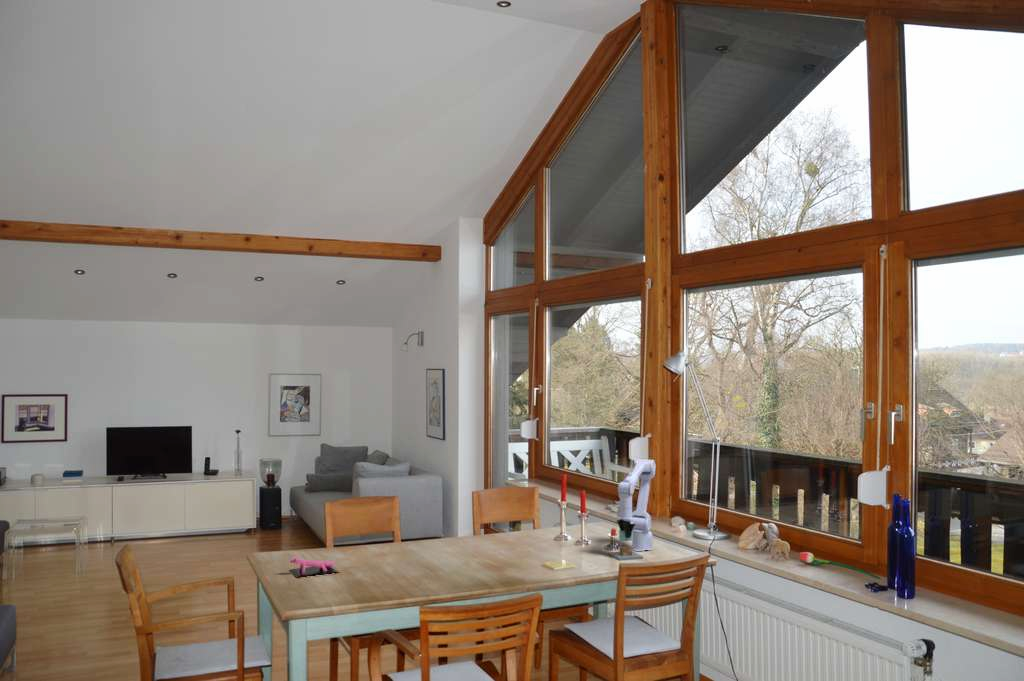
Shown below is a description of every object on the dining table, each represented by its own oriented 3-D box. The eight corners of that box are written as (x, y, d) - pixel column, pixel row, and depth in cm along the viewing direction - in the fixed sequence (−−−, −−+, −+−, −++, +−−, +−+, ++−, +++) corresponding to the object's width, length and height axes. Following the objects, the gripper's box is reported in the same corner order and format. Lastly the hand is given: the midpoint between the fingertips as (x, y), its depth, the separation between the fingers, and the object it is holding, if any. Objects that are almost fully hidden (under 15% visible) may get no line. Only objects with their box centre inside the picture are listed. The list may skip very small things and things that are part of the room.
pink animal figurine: (285, 572, 359) (286, 555, 359) (331, 567, 368) (331, 550, 368) (293, 580, 346) (293, 562, 346) (340, 575, 355) (340, 557, 355)
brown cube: (628, 553, 392) (628, 544, 392) (632, 555, 388) (632, 546, 388) (619, 553, 391) (619, 545, 391) (623, 555, 386) (623, 547, 386)
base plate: (632, 553, 397) (632, 550, 397) (643, 558, 385) (643, 556, 385) (609, 554, 393) (609, 552, 393) (619, 560, 382) (619, 558, 382)
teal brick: (627, 538, 392) (627, 530, 392) (631, 540, 388) (632, 532, 388) (619, 539, 391) (619, 530, 391) (623, 541, 387) (623, 532, 387)
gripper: (611, 505, 396) (611, 533, 395) (624, 510, 382) (624, 540, 381) (625, 504, 398) (625, 533, 397) (638, 509, 384) (638, 539, 383)
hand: (625, 536), depth 389 cm, fingers closed on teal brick, 4 cm apart
